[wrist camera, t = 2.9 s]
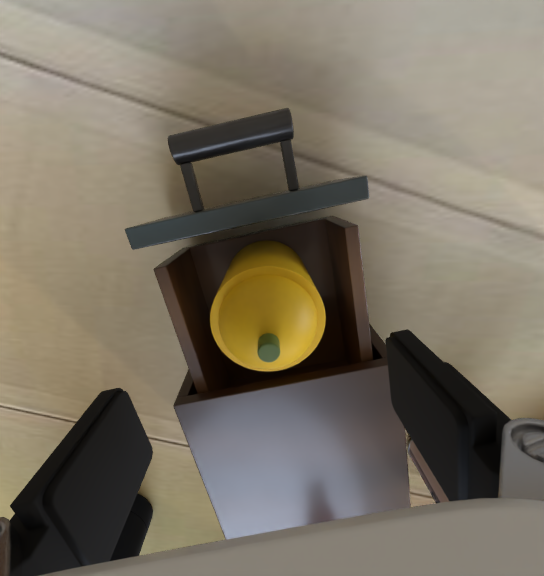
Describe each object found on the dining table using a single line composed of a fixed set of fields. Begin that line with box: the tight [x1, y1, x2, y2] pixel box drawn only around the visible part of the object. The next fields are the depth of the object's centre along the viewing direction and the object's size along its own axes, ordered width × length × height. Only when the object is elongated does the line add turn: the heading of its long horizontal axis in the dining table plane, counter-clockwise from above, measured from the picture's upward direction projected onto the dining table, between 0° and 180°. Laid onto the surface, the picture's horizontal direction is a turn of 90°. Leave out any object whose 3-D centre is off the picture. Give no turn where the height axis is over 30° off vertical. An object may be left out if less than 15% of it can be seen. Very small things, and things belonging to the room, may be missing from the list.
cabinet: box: [174, 324, 411, 540], centre depth 25 cm, size 17×15×9 cm
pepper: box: [210, 241, 326, 371], centre depth 18 cm, size 6×6×11 cm
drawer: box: [125, 108, 373, 394], centre depth 21 cm, size 20×13×7 cm
